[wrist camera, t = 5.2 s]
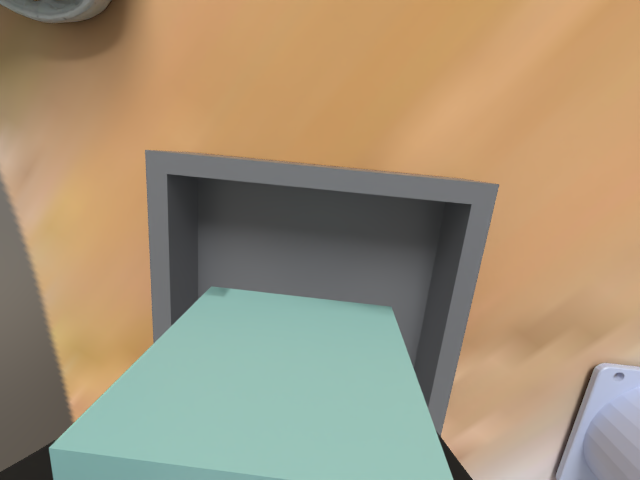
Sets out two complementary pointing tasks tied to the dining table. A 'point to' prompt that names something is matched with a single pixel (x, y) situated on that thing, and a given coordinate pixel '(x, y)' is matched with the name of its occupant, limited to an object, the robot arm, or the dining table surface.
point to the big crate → (322, 244)
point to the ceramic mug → (57, 9)
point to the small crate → (262, 399)
